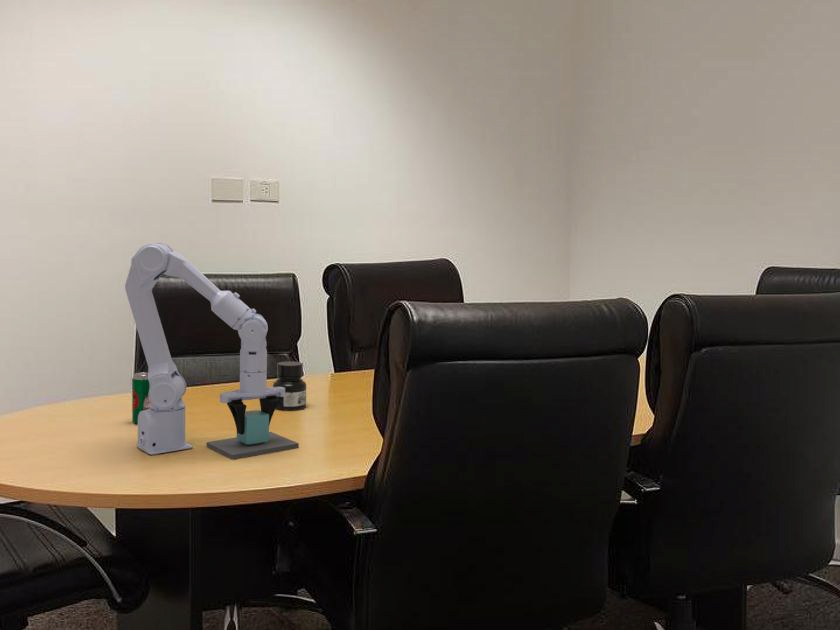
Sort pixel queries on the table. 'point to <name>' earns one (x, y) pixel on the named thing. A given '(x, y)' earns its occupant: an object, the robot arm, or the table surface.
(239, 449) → the pin stand
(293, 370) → the ink bottle
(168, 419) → the robot arm
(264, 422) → the teal square block
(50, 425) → the table surface
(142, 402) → the soda can
